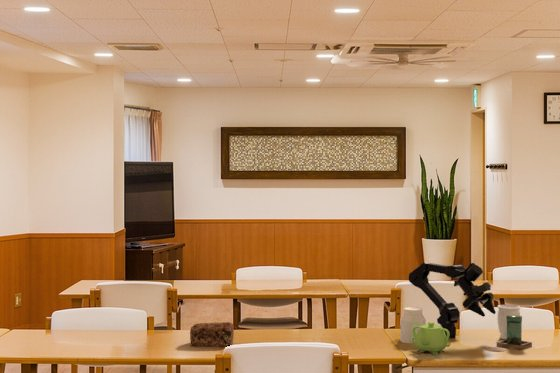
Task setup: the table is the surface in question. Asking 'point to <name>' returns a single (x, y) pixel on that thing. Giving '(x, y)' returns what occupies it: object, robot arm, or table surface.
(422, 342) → the teapot
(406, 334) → the jar
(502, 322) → the jar
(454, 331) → the robot arm
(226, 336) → the bread
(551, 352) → the table surface
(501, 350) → the cork coaster
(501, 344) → the walnut tray
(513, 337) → the tea canister
